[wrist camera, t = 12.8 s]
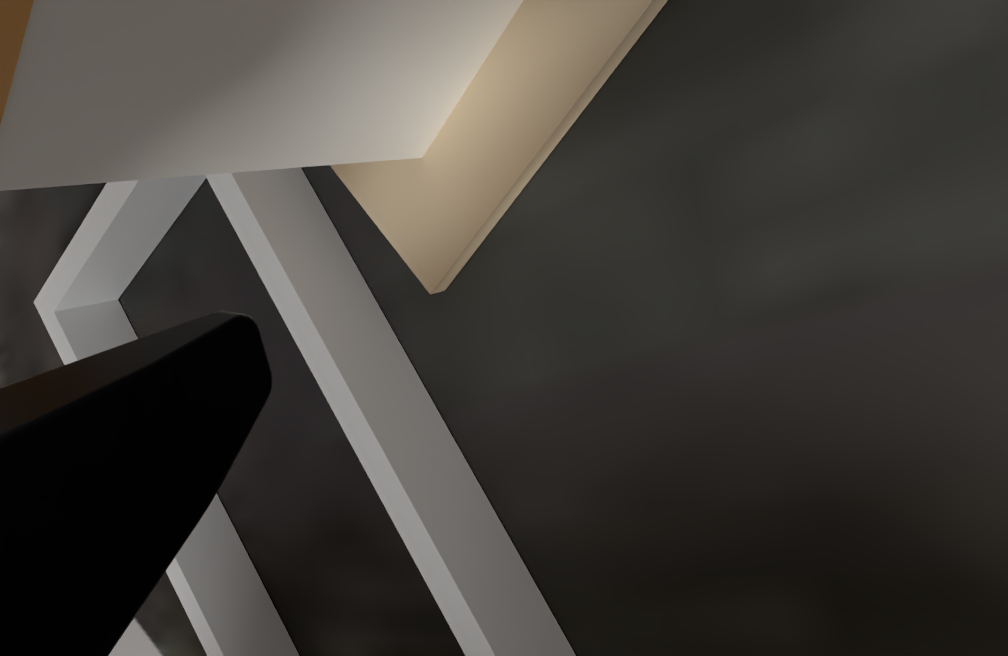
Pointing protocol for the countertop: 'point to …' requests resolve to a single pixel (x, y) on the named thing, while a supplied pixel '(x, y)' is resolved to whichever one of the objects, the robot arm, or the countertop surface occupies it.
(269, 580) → the countertop surface
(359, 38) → the module
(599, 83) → the pad
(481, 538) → the grey angled frame
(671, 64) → the countertop surface
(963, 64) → the countertop surface
